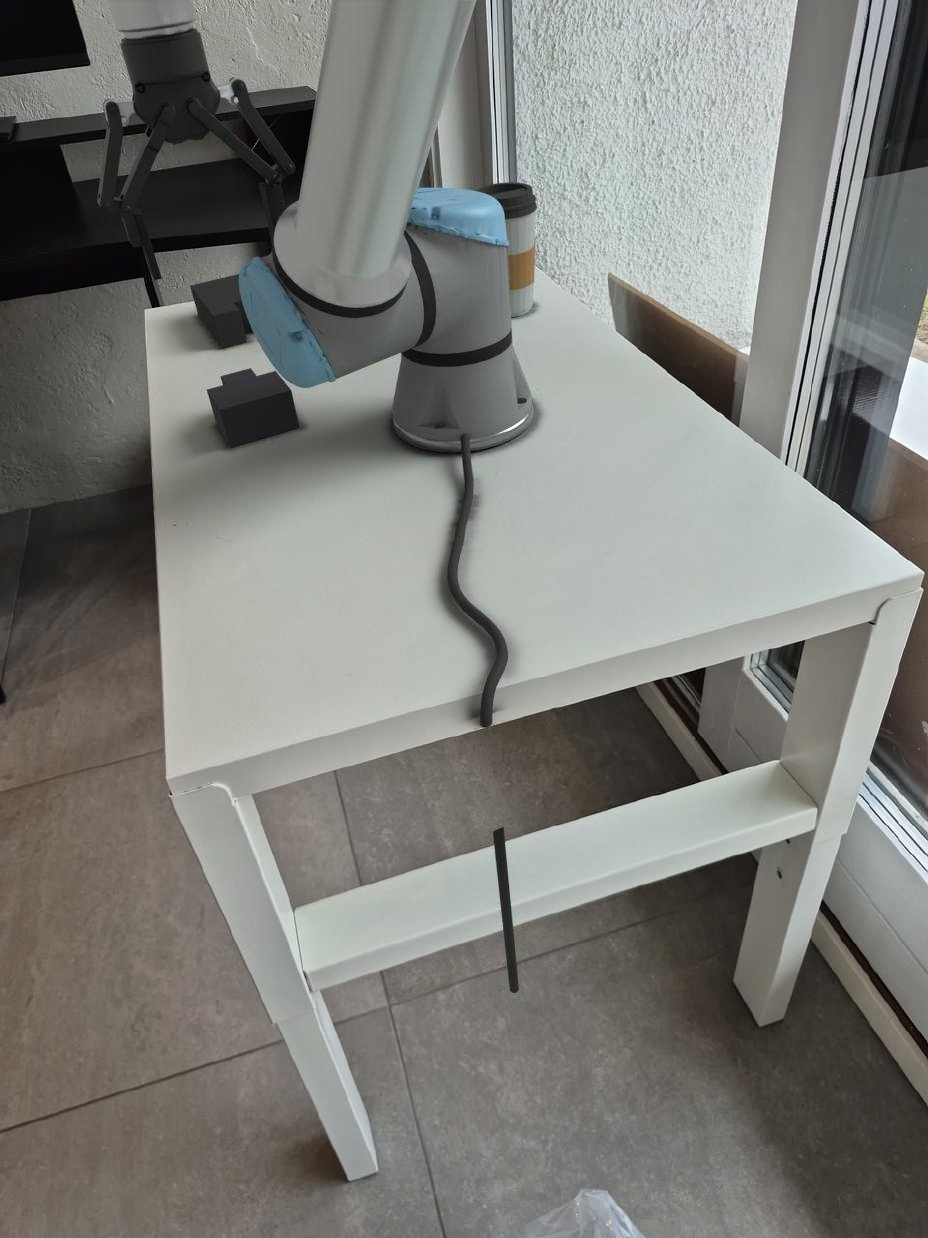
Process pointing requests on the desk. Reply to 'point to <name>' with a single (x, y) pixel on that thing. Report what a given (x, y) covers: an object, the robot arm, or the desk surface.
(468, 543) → the desk surface
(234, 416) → the pad
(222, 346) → the notched pad
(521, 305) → the coffee cup
